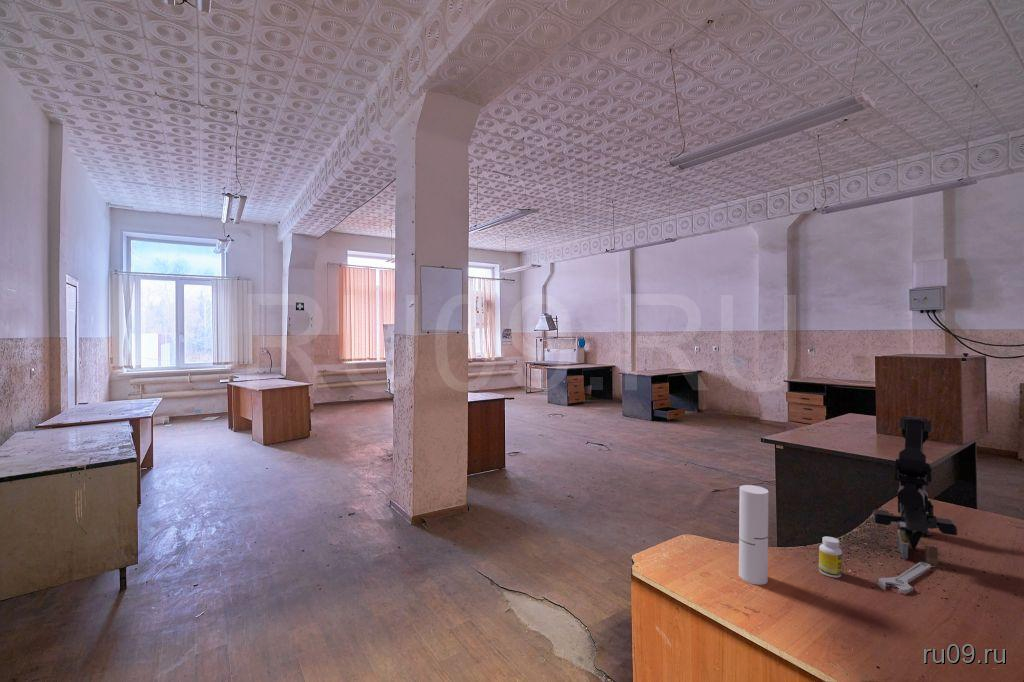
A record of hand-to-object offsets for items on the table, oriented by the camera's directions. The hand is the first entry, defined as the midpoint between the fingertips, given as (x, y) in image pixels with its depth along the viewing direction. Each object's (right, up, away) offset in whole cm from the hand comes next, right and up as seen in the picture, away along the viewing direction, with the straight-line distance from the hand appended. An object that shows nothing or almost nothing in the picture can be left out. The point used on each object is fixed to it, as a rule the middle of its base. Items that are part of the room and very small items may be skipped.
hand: (913, 549), depth 139 cm
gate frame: (+3, -3, +1) cm, 4 cm away
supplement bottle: (-31, -3, -8) cm, 32 cm away
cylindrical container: (-54, -3, -11) cm, 55 cm away
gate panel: (-1, -2, +3) cm, 4 cm away
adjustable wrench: (-11, -4, -12) cm, 17 cm away
